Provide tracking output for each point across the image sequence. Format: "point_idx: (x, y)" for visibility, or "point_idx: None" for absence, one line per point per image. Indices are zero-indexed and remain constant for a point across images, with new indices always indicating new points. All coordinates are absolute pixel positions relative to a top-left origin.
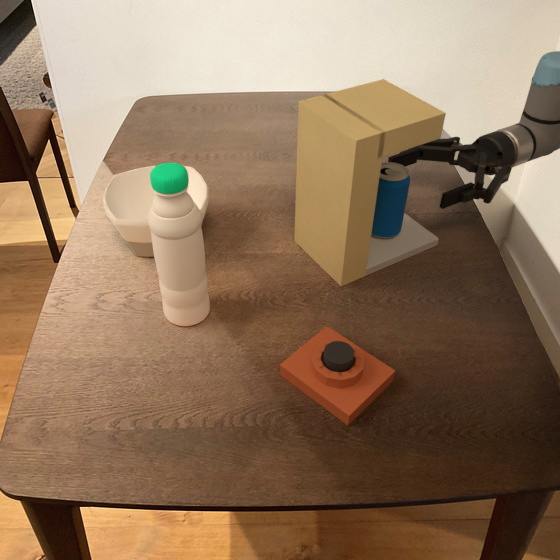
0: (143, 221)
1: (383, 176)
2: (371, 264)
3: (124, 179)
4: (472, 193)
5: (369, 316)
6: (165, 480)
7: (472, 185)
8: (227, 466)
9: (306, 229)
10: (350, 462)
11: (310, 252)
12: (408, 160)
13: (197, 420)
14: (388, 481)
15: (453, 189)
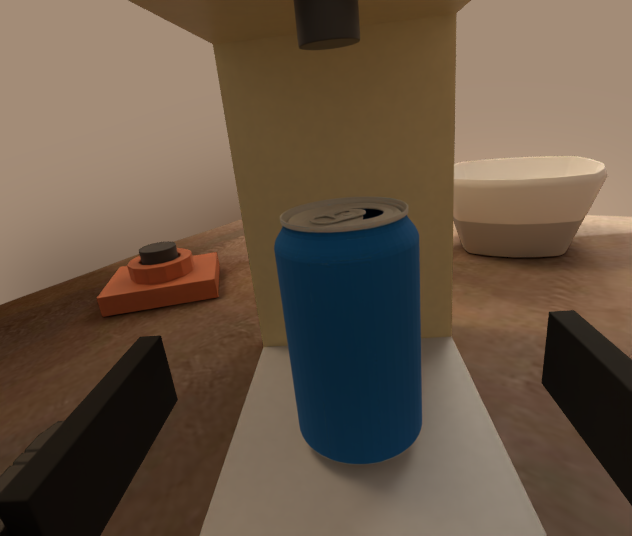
0: None
1: (336, 206)
2: (266, 357)
3: (575, 166)
4: (4, 473)
5: (192, 335)
6: (215, 231)
7: (9, 487)
8: (189, 244)
9: None
10: (104, 277)
11: None
12: (628, 456)
13: (236, 240)
14: (63, 286)
15: (123, 374)
